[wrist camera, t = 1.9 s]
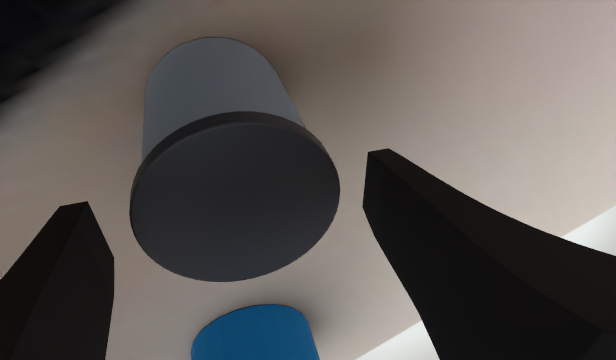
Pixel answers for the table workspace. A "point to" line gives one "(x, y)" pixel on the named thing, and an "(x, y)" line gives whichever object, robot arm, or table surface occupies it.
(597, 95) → the table surface
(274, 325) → the bottle
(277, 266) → the plastic tub
